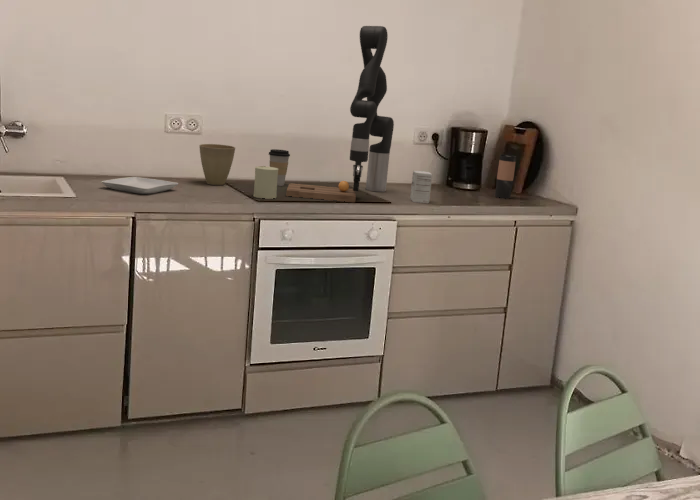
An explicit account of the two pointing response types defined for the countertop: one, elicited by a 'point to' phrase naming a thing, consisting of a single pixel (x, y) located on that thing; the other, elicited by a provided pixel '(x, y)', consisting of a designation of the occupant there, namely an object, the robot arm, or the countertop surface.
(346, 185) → the ball
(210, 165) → the plant pot
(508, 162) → the travel mug
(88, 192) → the countertop surface
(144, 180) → the salad plate
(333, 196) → the wooden cutting board
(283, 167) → the coffee cup
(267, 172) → the can
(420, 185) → the supplement box
